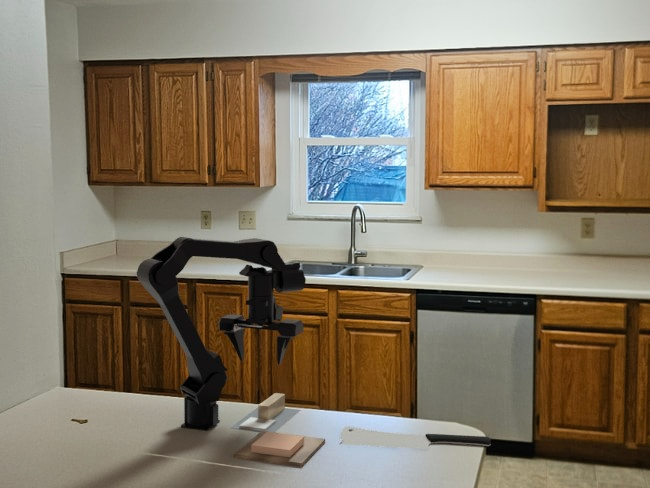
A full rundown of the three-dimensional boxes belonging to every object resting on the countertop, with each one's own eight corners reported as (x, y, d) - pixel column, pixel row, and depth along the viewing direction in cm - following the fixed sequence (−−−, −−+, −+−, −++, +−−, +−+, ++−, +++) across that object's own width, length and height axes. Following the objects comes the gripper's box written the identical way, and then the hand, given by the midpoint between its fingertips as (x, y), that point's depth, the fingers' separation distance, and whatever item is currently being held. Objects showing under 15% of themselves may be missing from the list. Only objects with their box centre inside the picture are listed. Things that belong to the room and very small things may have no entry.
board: (233, 458, 152) (233, 453, 151) (262, 435, 165) (262, 430, 165) (301, 468, 147) (301, 463, 147) (325, 443, 160) (325, 438, 160)
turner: (239, 428, 168) (239, 412, 168) (268, 406, 183) (268, 392, 183) (265, 431, 166) (265, 415, 166) (292, 409, 181) (292, 394, 181)
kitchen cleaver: (336, 444, 159) (342, 422, 168) (336, 452, 159) (342, 430, 169) (493, 455, 154) (490, 432, 164) (492, 463, 155) (489, 439, 164)
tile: (267, 439, 160) (251, 452, 152) (267, 431, 159) (251, 444, 152) (304, 444, 157) (289, 458, 149) (304, 436, 157) (289, 450, 149)
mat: (229, 429, 168) (229, 427, 168) (260, 406, 184) (260, 405, 184) (272, 434, 165) (272, 433, 165) (300, 411, 181) (300, 409, 181)
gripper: (311, 291, 181) (311, 357, 182) (238, 286, 187) (238, 351, 188) (294, 299, 170) (294, 369, 172) (217, 294, 176) (217, 361, 178)
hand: (260, 362), depth 178 cm, fingers open, 9 cm apart
